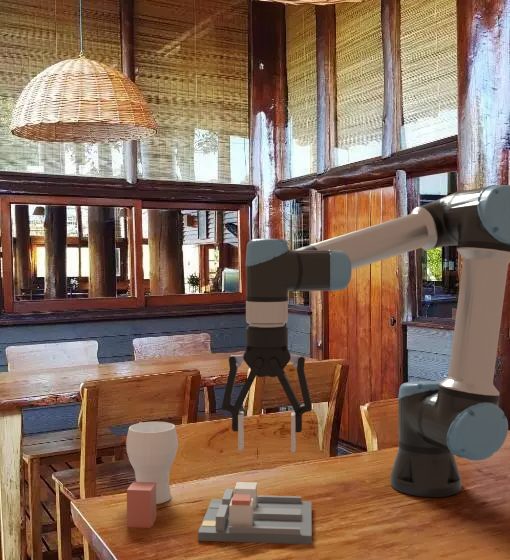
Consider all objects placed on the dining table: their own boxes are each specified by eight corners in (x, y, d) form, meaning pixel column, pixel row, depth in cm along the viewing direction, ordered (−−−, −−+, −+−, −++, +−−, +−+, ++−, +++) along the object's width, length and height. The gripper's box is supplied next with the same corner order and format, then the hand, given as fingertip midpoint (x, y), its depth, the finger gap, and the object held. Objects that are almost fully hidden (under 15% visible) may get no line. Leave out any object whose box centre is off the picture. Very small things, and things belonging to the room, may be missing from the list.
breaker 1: (257, 502, 134) (257, 482, 134) (255, 509, 130) (255, 489, 130) (236, 501, 134) (236, 481, 134) (234, 509, 130) (234, 488, 130)
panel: (311, 508, 135) (311, 488, 135) (311, 544, 118) (311, 521, 118) (211, 506, 137) (211, 486, 137) (198, 540, 120) (198, 518, 120)
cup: (168, 509, 135) (168, 434, 135) (118, 505, 137) (117, 431, 137) (184, 491, 145) (184, 422, 145) (137, 488, 148) (137, 419, 147)
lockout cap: (156, 518, 130) (156, 482, 130) (150, 527, 126) (150, 490, 126) (133, 517, 131) (133, 481, 130) (127, 527, 126) (126, 489, 126)
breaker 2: (253, 519, 125) (253, 494, 125) (251, 528, 121) (251, 501, 121) (231, 519, 125) (231, 493, 125) (229, 527, 121) (229, 501, 121)
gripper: (326, 323, 125) (326, 444, 125) (210, 322, 126) (211, 442, 127) (327, 327, 117) (327, 456, 118) (204, 326, 119) (204, 454, 120)
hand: (267, 449), depth 122 cm, fingers open, 9 cm apart
